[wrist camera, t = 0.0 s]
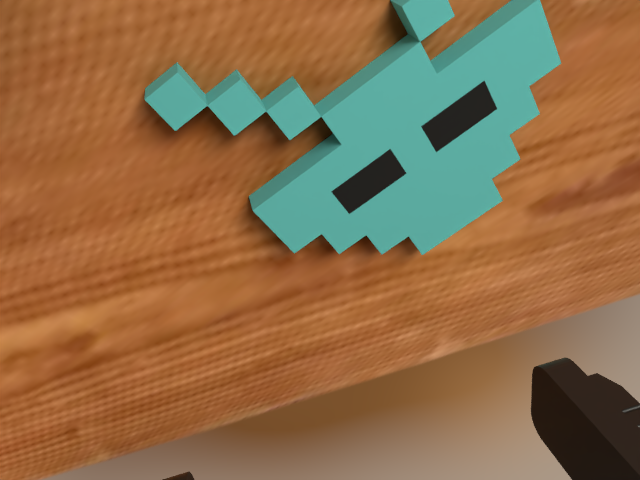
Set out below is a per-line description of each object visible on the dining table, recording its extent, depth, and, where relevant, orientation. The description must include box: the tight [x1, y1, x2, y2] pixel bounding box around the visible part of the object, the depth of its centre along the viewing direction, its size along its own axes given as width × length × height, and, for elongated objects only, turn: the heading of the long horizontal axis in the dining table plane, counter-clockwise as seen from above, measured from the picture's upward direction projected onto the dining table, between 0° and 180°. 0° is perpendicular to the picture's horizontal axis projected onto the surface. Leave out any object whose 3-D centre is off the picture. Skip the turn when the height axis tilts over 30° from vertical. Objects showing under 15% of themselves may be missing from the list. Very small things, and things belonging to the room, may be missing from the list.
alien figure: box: [145, 0, 561, 255], centre depth 32 cm, size 20×2×20 cm
